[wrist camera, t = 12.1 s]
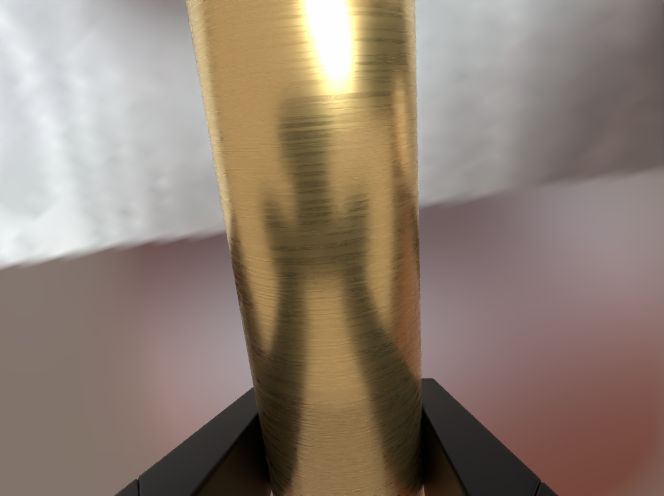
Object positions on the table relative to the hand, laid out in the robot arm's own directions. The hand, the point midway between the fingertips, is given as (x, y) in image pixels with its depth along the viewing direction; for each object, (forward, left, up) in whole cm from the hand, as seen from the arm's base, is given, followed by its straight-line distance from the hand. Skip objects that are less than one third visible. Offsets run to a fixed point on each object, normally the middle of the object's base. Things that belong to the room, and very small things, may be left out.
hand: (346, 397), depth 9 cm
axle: (0, -5, +1) cm, 5 cm away
